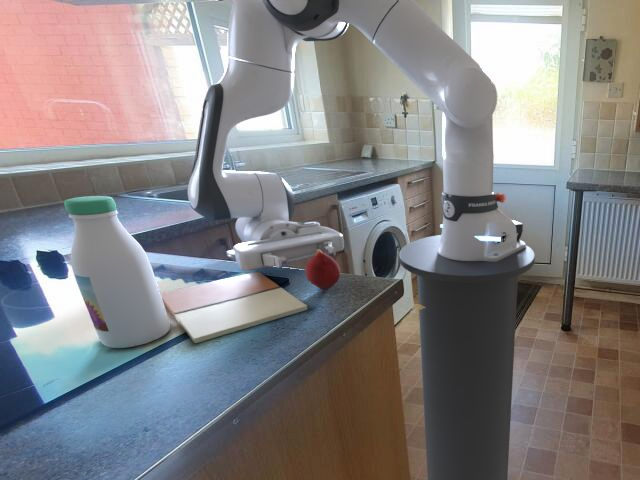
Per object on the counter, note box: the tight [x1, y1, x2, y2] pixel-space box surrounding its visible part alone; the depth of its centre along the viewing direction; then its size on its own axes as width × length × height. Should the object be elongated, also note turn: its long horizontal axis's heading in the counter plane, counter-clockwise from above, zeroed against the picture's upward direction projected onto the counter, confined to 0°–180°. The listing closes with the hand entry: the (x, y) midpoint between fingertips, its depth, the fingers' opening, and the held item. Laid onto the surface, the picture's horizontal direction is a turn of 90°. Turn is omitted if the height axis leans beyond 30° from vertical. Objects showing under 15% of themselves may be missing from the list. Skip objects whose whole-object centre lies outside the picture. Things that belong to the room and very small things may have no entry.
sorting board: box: [160, 271, 309, 344], centre depth 70 cm, size 16×22×1 cm
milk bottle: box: [63, 195, 171, 349], centre depth 56 cm, size 8×8×20 cm
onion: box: [304, 250, 341, 291], centre depth 76 cm, size 6×6×8 cm
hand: (308, 257), depth 79 cm, fingers open, 8 cm apart
